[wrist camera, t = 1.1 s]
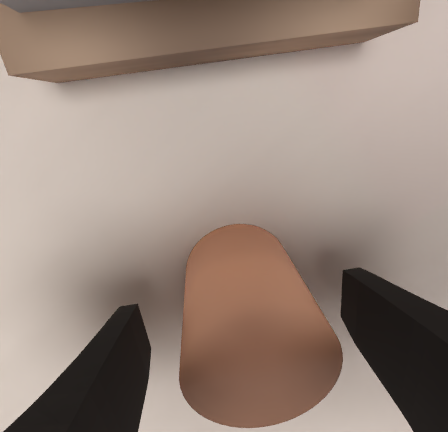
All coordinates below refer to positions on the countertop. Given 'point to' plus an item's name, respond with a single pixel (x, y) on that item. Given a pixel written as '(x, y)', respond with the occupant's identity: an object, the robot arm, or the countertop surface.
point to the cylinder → (252, 332)
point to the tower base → (183, 33)
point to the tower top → (57, 4)
